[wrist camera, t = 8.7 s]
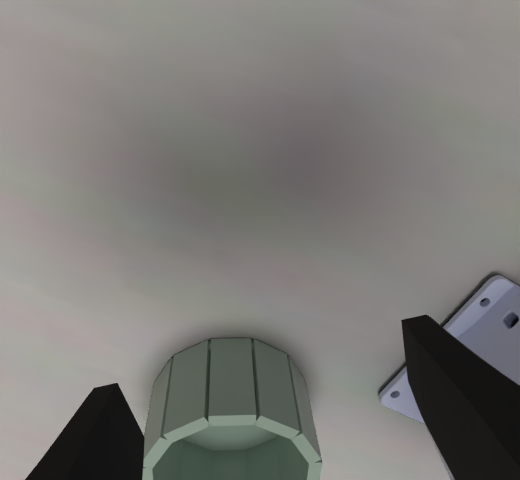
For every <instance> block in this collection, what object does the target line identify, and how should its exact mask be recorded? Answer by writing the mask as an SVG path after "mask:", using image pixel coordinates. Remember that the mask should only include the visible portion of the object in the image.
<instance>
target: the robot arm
mask: <svg viewBox="0 0 520 480" xmlns="http://www.w3.org/2000/svg"><path fill="white" fill-rule="evenodd" d="M484 298H486V299H485V300H484V301H483V302H480V301H481V300H482V299H484ZM401 321H402V330H403V339H404V349H405V358H406V366H405V368H404V369H403V370H402V371H401V372H400V373H399V374H398V375H397V376H396V377H395V378H394V379H393V380H392V381H391V382H390V383H389V384H388V385H387V386H386V387H385V388H384V389H383V391H382V392H381V393H380V394H379V400H380V402H381V404H382V405H383V406H385V407H388V408H390V409H392V410H394V411H396V412H399V413H401V414H403V415H405V416H408V417H410V418H412V419H414V420H416V421H419V422H421V423H423V424H425V425H426V427H427V429H428V432H429V434H430V436H431V438H432V440H433V442H434V444H435V447H436V449H437V451H438V453H439V455H440V457H441V460H442V462H443V464H444V466H445V468H446V470H447V472H448V475H449V477H450V479H451V480H520V286H518V285H516V284H515V283H513V282H511V281H510V280H508V279H507V278H505V277H503V276H501V275H496V276H493V277H491V278H490V279H489V280H488V281H487V282H486V283H485V284H484V285H483V286H482V287H481V288H480V289H479V290H478V291H477V292H476V293H475V294H474V295H473V296H472V297H471V298H470V300H469V301H468V302H467V303H466V304H465V305H464V306H463V307H462V308H461V309H460V310H459V311H458V312H457V313H456V314H455V315H454V316H453V317H452V318H451V319H450V320H449V321H448V323H447V324H446V325H445V326H444V327H442V326H440V325H439V324H438V323H437V322H436V321H434V320H433V319H432V318H431V317H429V316H428V315H422V316H418V317H413V318H409V319H404V320H401ZM393 391H396V392H394V393H392V392H393ZM144 441H145V438H144V436H143V434H142V432H141V430H140V428H139V426H138V424H137V421H136V419H135V417H134V415H133V413H132V411H131V409H130V407H129V405H128V403H127V401H126V399H125V397H124V395H123V393H122V391H121V389H120V387H119V385H118V383H115V384H110V385H106V386H101V387H97V388H94V389H93V390H92V391H91V393H90V394H89V395H88V397H87V398H86V399H85V401H84V402H83V403H82V405H81V406H80V407H79V409H78V410H77V412H76V413H75V414H74V416H73V417H72V418H71V420H70V421H69V423H68V424H67V425H66V427H65V428H64V429H63V431H62V432H61V434H60V435H59V436H58V438H57V439H56V440H55V442H54V443H53V444H52V446H51V447H50V448H49V450H48V451H47V452H46V454H45V455H44V456H43V458H42V459H41V460H40V462H39V463H38V464H37V466H36V467H35V468H34V469H33V470H32V472H31V473H30V474H29V475H28V477H27V478H26V479H25V480H142V476H143V462H144Z"/></svg>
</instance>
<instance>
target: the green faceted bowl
mask: <svg viewBox="0 0 520 480" xmlns="http://www.w3.org/2000/svg"><path fill="white" fill-rule="evenodd" d="M144 438H145V441H144V462H143V476H142V480H320V474H321V467H322V459H321V454H320V450H319V445H318V440H317V435H316V430H315V426H314V421H313V416H312V411H311V406H310V402H309V397H308V392H307V387H306V383H305V379H304V378H303V376H302V375H301V373H300V372H299V370H298V369H297V367H296V366H295V364H294V363H293V361H292V360H291V358H290V357H289V356H287V354H286V353H284V352H282V351H280V350H277V349H275V348H273V347H271V346H269V345H267V344H264V343H262V342H260V341H258V340H256V339H254V340H251V338H219V339H211V341H208V339H207V340H205V341H203V342H201V343H199V344H197V345H195V346H193V347H190V348H188V349H186V350H184V351H182V352H180V353H178V354H175V355H174V358H172V357H171V359H170V360H169V362H168V363H167V365H166V366H165V367H164V369H163V370H162V372H161V373H160V375H159V376H158V378H157V379H156V381H155V382H154V385H153V390H152V395H151V401H150V406H149V412H148V417H147V423H146V428H145V434H144Z"/></svg>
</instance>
